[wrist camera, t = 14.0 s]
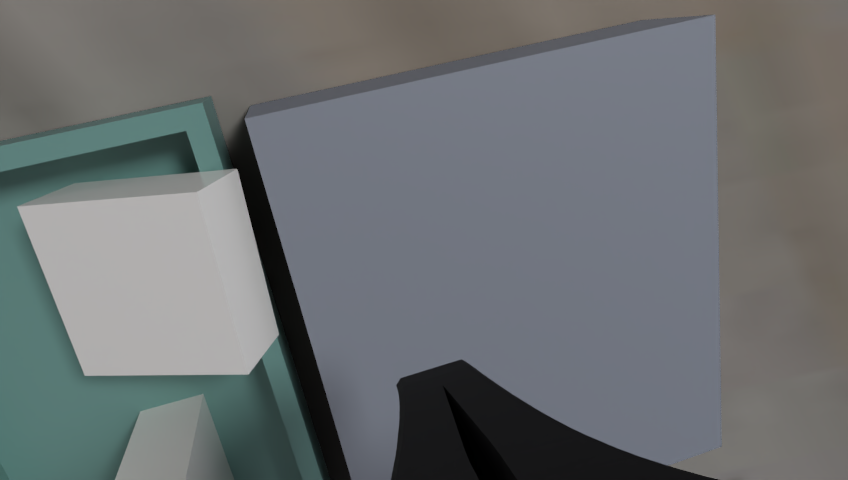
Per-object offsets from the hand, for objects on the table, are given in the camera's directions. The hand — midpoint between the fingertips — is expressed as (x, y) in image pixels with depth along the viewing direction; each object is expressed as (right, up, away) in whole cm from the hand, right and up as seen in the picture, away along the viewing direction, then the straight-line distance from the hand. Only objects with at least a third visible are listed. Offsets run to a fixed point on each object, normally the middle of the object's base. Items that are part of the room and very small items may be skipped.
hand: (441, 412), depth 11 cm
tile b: (-7, +3, +6) cm, 10 cm away
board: (+2, +2, +10) cm, 10 cm away
